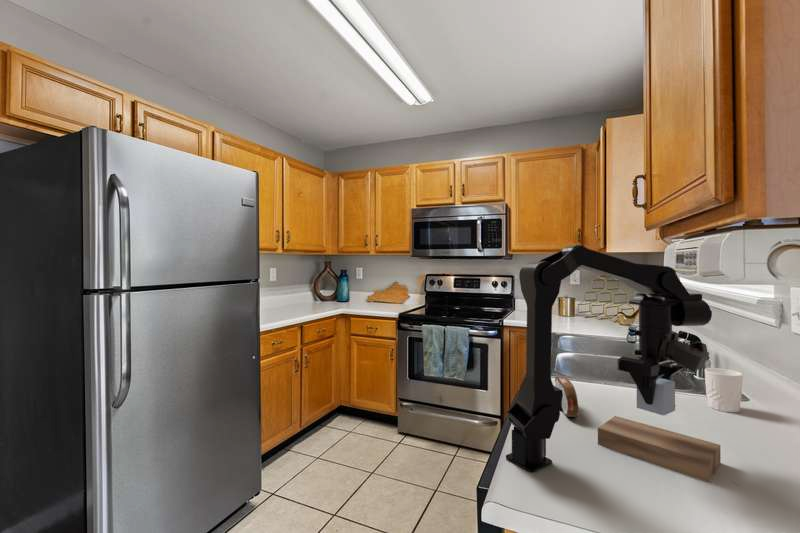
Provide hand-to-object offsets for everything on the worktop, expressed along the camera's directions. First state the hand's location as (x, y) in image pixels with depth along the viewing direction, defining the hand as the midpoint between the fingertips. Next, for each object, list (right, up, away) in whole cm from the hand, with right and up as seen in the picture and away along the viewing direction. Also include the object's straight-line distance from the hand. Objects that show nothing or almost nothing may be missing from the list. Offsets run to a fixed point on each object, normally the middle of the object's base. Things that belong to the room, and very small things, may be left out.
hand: (655, 401), depth 77 cm
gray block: (0, -2, 0) cm, 2 cm away
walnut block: (0, -11, 0) cm, 11 cm away
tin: (-8, -11, +23) cm, 27 cm away
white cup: (+35, -11, +25) cm, 44 cm away
